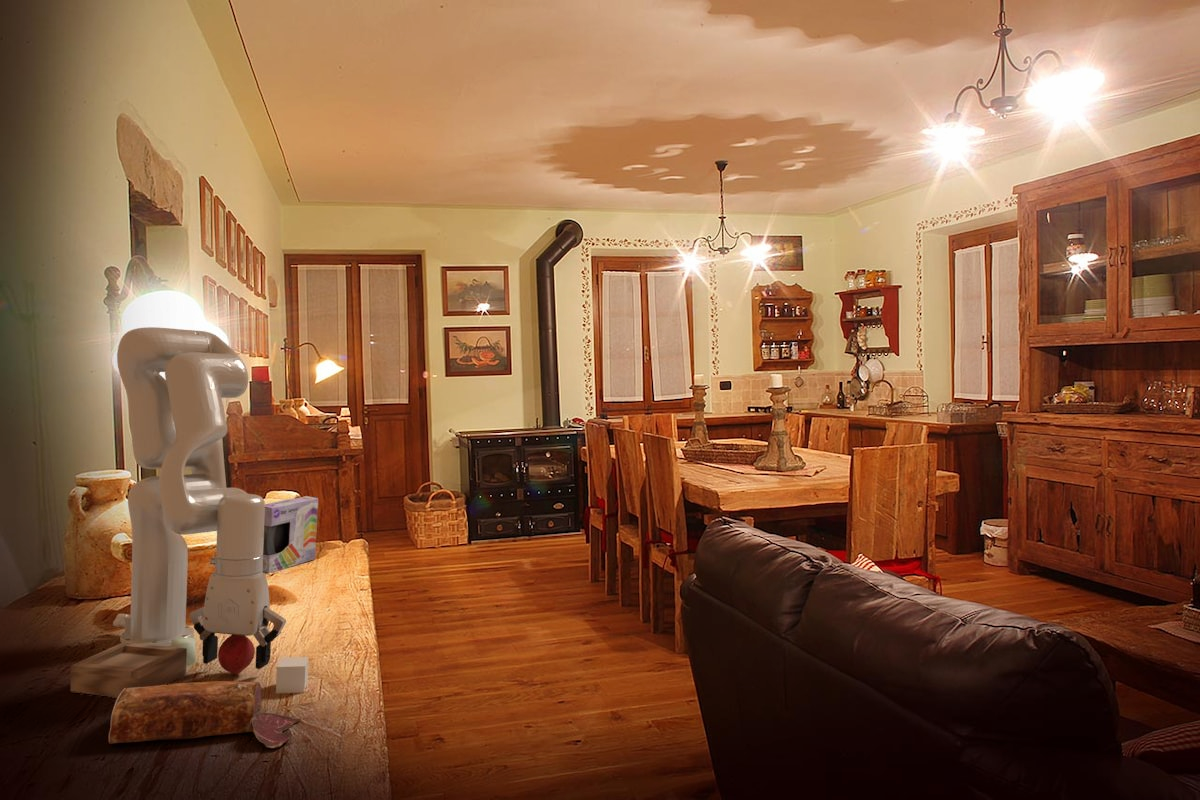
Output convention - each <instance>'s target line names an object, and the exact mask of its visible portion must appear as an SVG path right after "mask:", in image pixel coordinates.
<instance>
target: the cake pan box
mask: <svg viewBox="0 0 1200 800" xmlns="http://www.w3.org/2000/svg"><path fill="white" fill-rule="evenodd" d="M318 509H319V497H313V496H308V495H305V496H302V497H300V496H299V497H297V498H290V499H289V498H287V499H283V500H278V501H274V502H269V503H265V518H264V544H263V573H266V574H271V573H274V572H278V571H282V570H284V569H285V570H286V569H287V568H291V567H294V566H297V565H301V564H303V563H304V564H305V563H307V562H310V561H313V560H315V559H316V547H317V531H318V530H317V528H318V527H317V526H318V514H319V513H318V511H319V510H318Z"/></svg>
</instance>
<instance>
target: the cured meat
mask: <svg viewBox="0 0 1200 800" xmlns="http://www.w3.org/2000/svg"><path fill="white" fill-rule="evenodd" d="M261 708H262V686H261V683H260V682H259V681H231V680H230V681H229V680H228V681H226V680H225V681H224V680H221V681H202V682H201V681H200V682H199V681H198V682H182V683H169V684H168V685H159V686H148V687H136V688H124V689H123V691H122V692H121V693H120V695H119V696H118V698H116V700H115V702H114V705H113V709H112V712H111V717H110V724H109V725H110V728H109V731H108V743H109V744H110V745H111V744H113V745H114V744H123V743H136V742H151V741H160V740H161V741H162V740H187V739H195V738H203V737H210V736H221V735H230V734H231V735H233V734H241V733H249V732H250V733H253V734H254V735H255V738H256V739H257V740H258V741H259V742H260V743H261V744H263V745H264V746H265V747H266V748H270V749H276V748H279V747H281V746H282V745H283V744H284V743H286V742H287V741H289V739H291V737H292V735H293V734H292V733H291V732H284V731H286V730H287V729H289V728H290V727H291V726H293V724H296V723H299V722H300V721H302V719H303V718H301V717H290V716H285V715H280V714H275V713H269V712H268V713H267V712H260V710H261Z"/></svg>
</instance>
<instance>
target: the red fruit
mask: <svg viewBox="0 0 1200 800" xmlns="http://www.w3.org/2000/svg"><path fill="white" fill-rule="evenodd" d="M255 655H256V647H255V646H254V643H253V641H252V640H251V639H250V638H249V636H242V635H231V634H230V635H229V636H228V637H227V638H226V639H224V641H223V642H222V643H221V645H220V646H219V649H218V652H217V659H218V663H219V665H220V667H221V668H222V669H224V670H225V671H226V672H228V673H229V674H230V673H231V674H232V675H233V676H235V675H236V676H237V675H240V673H242V672H243V671H244V670H245V669H247V668H248V667H249V666H250V665H251V664H252V662H253V660H254V658H255Z"/></svg>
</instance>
